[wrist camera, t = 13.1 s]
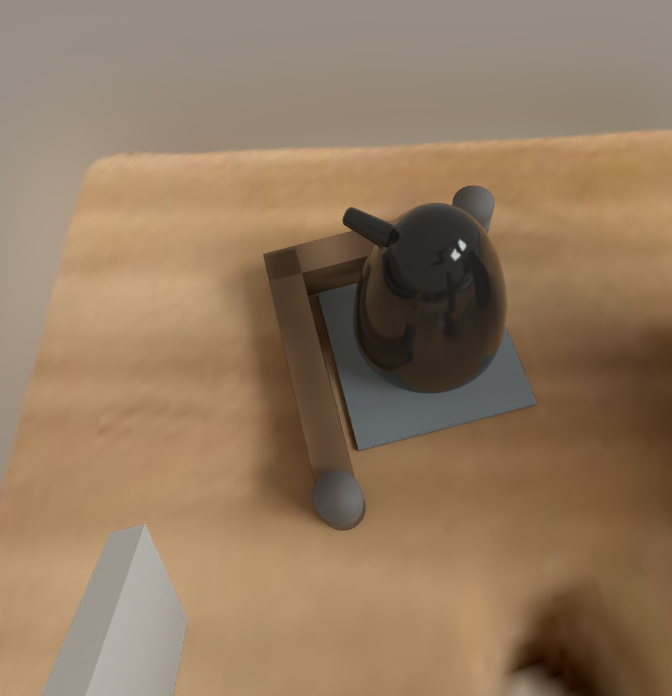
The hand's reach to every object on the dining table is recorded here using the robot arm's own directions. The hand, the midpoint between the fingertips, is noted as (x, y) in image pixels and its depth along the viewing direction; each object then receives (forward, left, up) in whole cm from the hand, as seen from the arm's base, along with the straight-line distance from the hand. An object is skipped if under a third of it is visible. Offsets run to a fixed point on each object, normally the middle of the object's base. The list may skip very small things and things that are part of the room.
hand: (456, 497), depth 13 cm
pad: (-5, -15, -28) cm, 32 cm away
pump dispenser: (-5, -15, -28) cm, 32 cm away
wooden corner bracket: (-4, -14, -28) cm, 31 cm away
